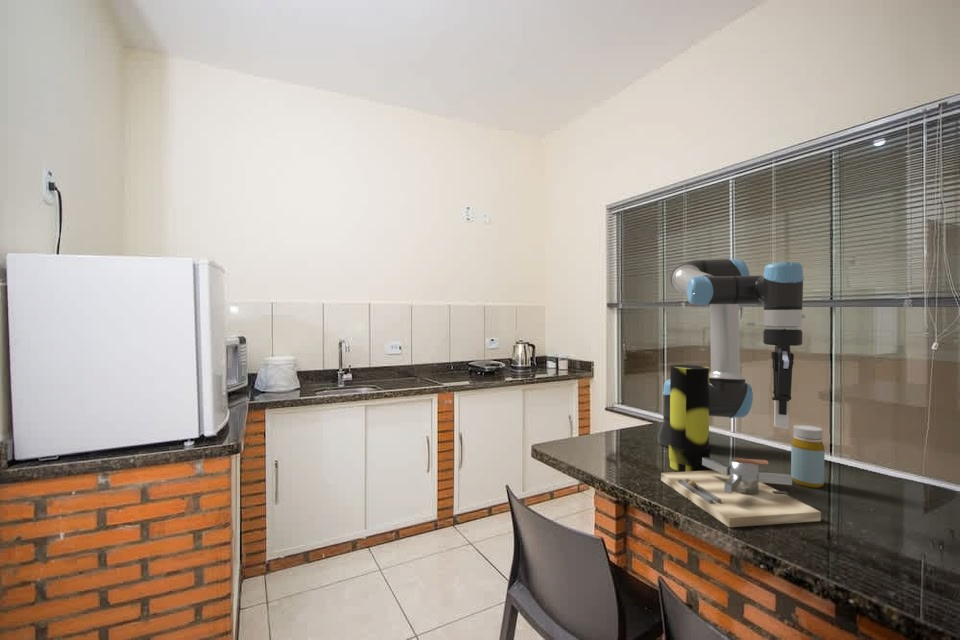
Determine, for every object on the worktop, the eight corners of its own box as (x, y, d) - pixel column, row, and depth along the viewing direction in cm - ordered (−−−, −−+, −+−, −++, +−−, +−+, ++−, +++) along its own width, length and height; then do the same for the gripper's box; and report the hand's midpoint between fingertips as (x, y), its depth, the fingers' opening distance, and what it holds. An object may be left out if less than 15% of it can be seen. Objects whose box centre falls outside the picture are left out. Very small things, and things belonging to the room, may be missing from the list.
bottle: (830, 489, 109) (830, 431, 109) (799, 487, 111) (800, 430, 111) (814, 479, 116) (815, 425, 116) (786, 477, 118) (786, 423, 117)
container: (660, 464, 127) (661, 365, 127) (689, 460, 131) (689, 364, 131) (688, 477, 117) (689, 369, 117) (718, 473, 121) (719, 368, 120)
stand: (660, 480, 115) (660, 466, 115) (737, 476, 118) (737, 462, 118) (729, 527, 90) (729, 509, 90) (824, 520, 93) (824, 503, 93)
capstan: (725, 503, 96) (725, 471, 96) (701, 472, 115) (701, 445, 115) (812, 511, 92) (812, 478, 92) (772, 478, 111) (772, 450, 111)
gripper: (807, 329, 93) (806, 436, 93) (797, 327, 104) (796, 423, 104) (766, 328, 96) (765, 431, 97) (760, 327, 108) (759, 419, 108)
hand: (781, 427), depth 100 cm, fingers closed
